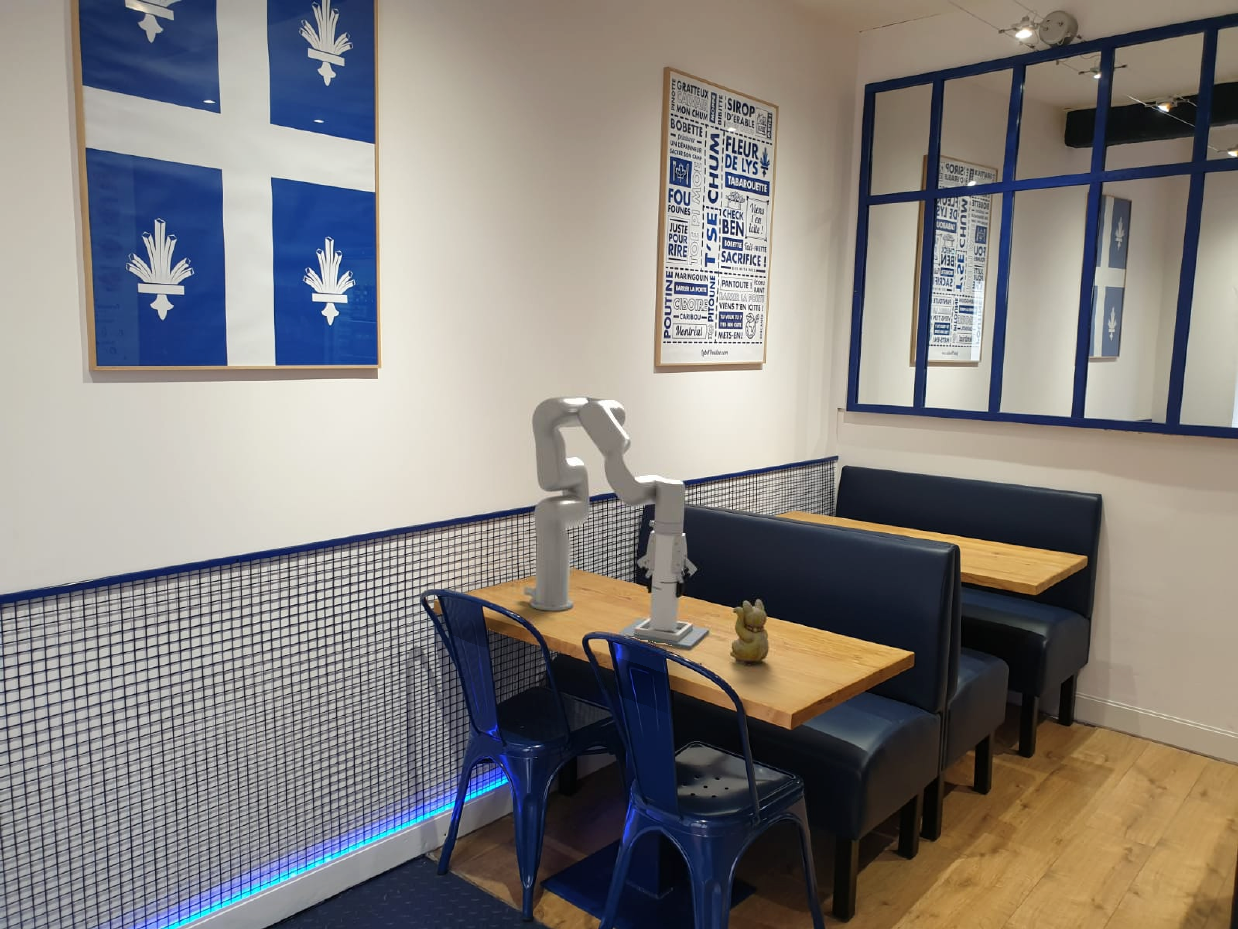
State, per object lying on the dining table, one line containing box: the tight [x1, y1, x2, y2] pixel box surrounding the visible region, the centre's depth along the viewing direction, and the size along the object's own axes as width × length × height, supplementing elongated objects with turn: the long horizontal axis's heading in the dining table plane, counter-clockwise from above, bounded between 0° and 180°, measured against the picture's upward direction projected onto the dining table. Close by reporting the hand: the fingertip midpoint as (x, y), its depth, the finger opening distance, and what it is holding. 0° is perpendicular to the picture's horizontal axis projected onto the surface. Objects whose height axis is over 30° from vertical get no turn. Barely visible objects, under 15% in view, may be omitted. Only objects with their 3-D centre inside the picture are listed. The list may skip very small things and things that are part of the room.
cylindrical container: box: [649, 534, 679, 631], centre depth 245 cm, size 7×7×25 cm
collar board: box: [618, 617, 710, 651], centre depth 247 cm, size 20×16×2 cm
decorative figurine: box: [729, 599, 770, 666], centre depth 228 cm, size 10×8×15 cm
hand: (665, 593), depth 246 cm, fingers closed on cylindrical container, 7 cm apart
